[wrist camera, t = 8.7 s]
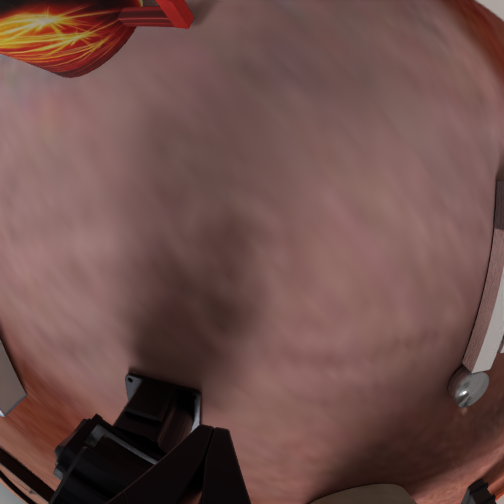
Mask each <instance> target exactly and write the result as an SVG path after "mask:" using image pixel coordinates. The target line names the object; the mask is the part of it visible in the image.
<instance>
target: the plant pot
mask: <svg viewBox="0 0 504 504" xmlns="http://www.w3.org/2000/svg"><path fill="white" fill-rule="evenodd" d="M310 504H417V503H416V502H415V501H414V500H413V499H412V497H411V496H410V495H409V494H408V493H407V491H406V490H405V489H404V488H402V487H401V486H399V485H395V484H373V485H365V486H360V487H355V488H351V489H347V490H343V491H340V492H337V493H333V494H330V495H328V496H325V497H322V498H320V499H318V500H316V501H314V502H312V503H310Z"/></svg>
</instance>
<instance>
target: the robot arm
mask: <svg viewBox="0 0 504 504" xmlns="http://www.w3.org/2000/svg"><path fill="white" fill-rule="evenodd" d="M130 378H131V379H130ZM125 383H126V390H127V396H128V402H127V404H126V405H125V407H124V409H123V411H122V412H121V414H120V415H119V417H118V418H117V420H116V421H115V423H114V424H113V426H112V425H110V424H109V423H108V422H106V421H105V420H103V418H102V417H101V416H100V415H98V414H97V413H96V415H95V416H94V417H93V418H92V419H90V418H89V419H88V420H87V419H83V420H82V422H81V423H80V424H79V426H78V427H77V428H76V429H75V430H74V432H73V433H72V434H71V435H69V436H68V437H67V438H66V439H65V440H64V441H62V442H61V443H60V444H59V445H58V446H57V447H56V449H55V451H54V452H55V456H56V459H57V461H56V464H55V466H56V468H55V470H54V472H53V475H54V476H55V477H57V478H58V479H59V480H61V482H60V484H59V486H58V488H57V489H56V491H55V493H54V495H53V496H52V498H51V500H50V502H49V504H251V501H250V498H249V495H248V492H247V489H246V486H245V483H244V479H243V476H242V473H241V470H240V466H239V463H238V459H237V456H236V453H235V449H234V446H233V442H232V439H231V435H230V431H229V430H228V429H224V428H219V427H216V428H214V427H212V426H208V425H203V424H200V409H201V393H200V392H199V391H198V390H196V389H192V388H187V387H183V386H178V385H174V384H170V383H166V382H162V381H158V380H155V379H151V378H147V377H144V376H140V375H137V374H133V373H128V374H127V375H126V376H125ZM192 394H194V395H196V396H194V395H192Z"/></svg>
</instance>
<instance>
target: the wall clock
mask: <svg viewBox="0 0 504 504" xmlns="http://www.w3.org/2000/svg"><path fill="white" fill-rule="evenodd" d="M0 478H1V479H2V481H3V482H4V483H5V484H6V485H7V486H8V487H9V488H10V489H12V490H13V491H14V492H15V493H16V494H17V495H18V496H19V497H21V498H22V499H23V500H24V501H25V502H27V503H28V504H49V502H50V500H51V498H52V496H53V495H54V493H55V492H54V491H53V490H51V489H50V488H49V487H48V486H47V485H45V484H44V483H43V482H42V481H40V480H39V479H38V478H37V477H36V476H34V475H33V474H32V473H31V472H29V471H28V470H27V469H26V468H24V467H23V466H22V465H21V464H20V463H18V462H17V461H16V460H15V459H13V458H12V457H11V456H9V455H8V454H7V453H5V452H4V451H3V450H1V449H0Z"/></svg>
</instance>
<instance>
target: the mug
mask: <svg viewBox="0 0 504 504" xmlns="http://www.w3.org/2000/svg"><path fill="white" fill-rule="evenodd" d="M155 1H156V2H157V3H158V5H159V6H146V7H143V1H142V0H0V54H3V55H6V56H9V57H12V58H15V59H18V60H20V61H23V62H26V63H29V64H31V65H34V66H37V67H39V68H42V69H45V70H47V71H50V72H52V73H55V74H57V75H60V76H62V77H67V78H73V77H79V76H82V75H84V74H87V73H89V72H91V71H93V70H95V69H96V68H98V67H100V66H101V65H102V64H104V63H105V62H107V61H108V60H109V59H110V58H111V57H112V56H113V55H115V54H116V53H117V52H118V51H119V50H120V49H121V47H122V46H123V45H124V44H125V43H126V42H127V40H128V39H129V38H130V36H131V35H132V34H133V32H134V30H135V28H136V27H137V26H159V27H176V28H185V29H189V27H190V25H191V24H192V22H193V20H194V17H193V15H192V13H191V11H190V9H189V8H188V6H187V4H186V2H185V1H184V0H155Z"/></svg>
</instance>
